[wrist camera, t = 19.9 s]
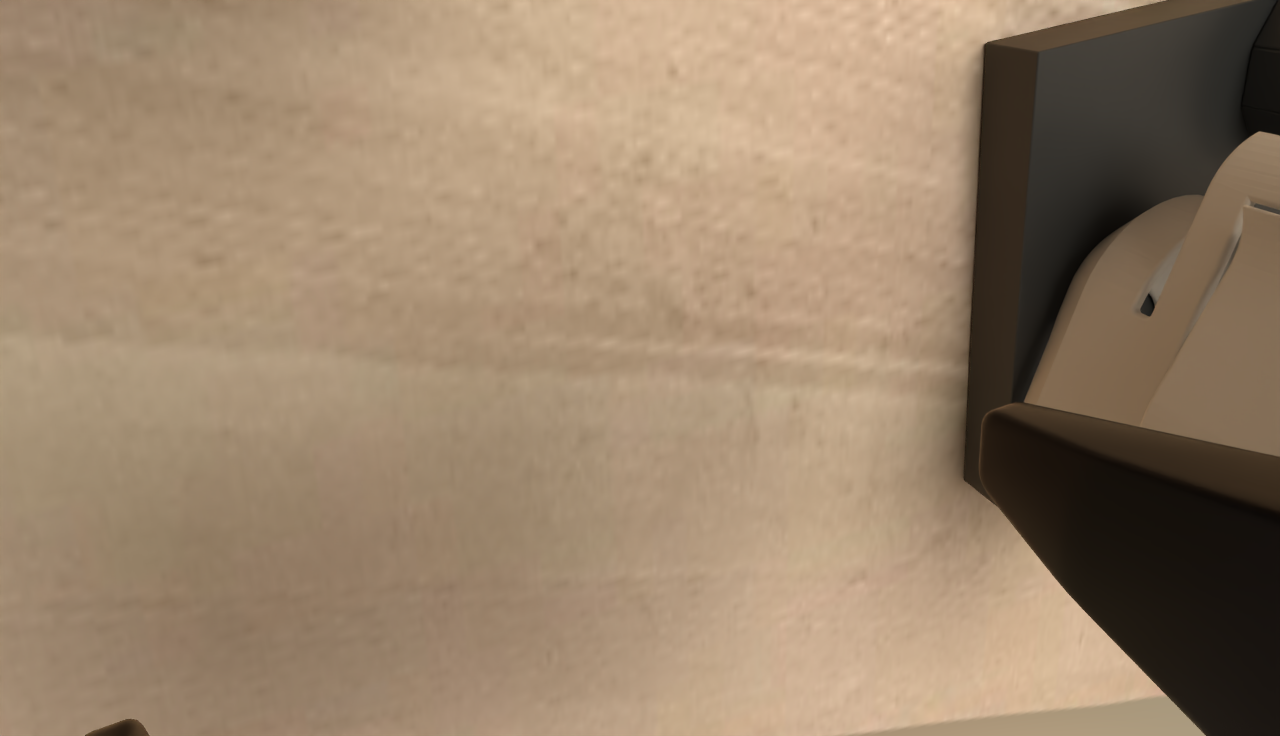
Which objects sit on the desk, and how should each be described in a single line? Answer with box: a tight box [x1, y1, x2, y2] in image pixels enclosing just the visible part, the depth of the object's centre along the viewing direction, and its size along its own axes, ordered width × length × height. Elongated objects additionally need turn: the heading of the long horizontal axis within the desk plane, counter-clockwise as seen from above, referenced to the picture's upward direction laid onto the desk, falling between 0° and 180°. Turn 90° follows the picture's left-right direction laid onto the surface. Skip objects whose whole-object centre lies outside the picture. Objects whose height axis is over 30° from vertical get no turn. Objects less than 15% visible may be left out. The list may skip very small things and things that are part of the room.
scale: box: [964, 0, 1280, 507], centre depth 27 cm, size 15×13×4 cm
